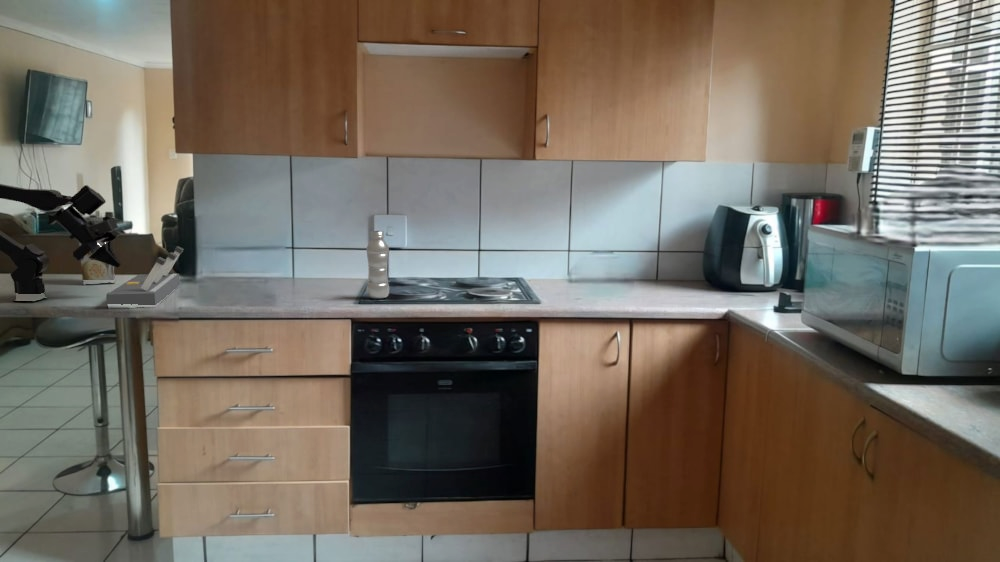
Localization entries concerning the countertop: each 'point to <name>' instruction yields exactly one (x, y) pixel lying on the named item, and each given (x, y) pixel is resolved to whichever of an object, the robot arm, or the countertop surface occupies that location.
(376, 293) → the plastic bottle
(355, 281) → the countertop surface
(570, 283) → the countertop surface
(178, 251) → the lever
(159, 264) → the lever
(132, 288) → the breaker panel
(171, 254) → the lever
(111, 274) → the coffee box
